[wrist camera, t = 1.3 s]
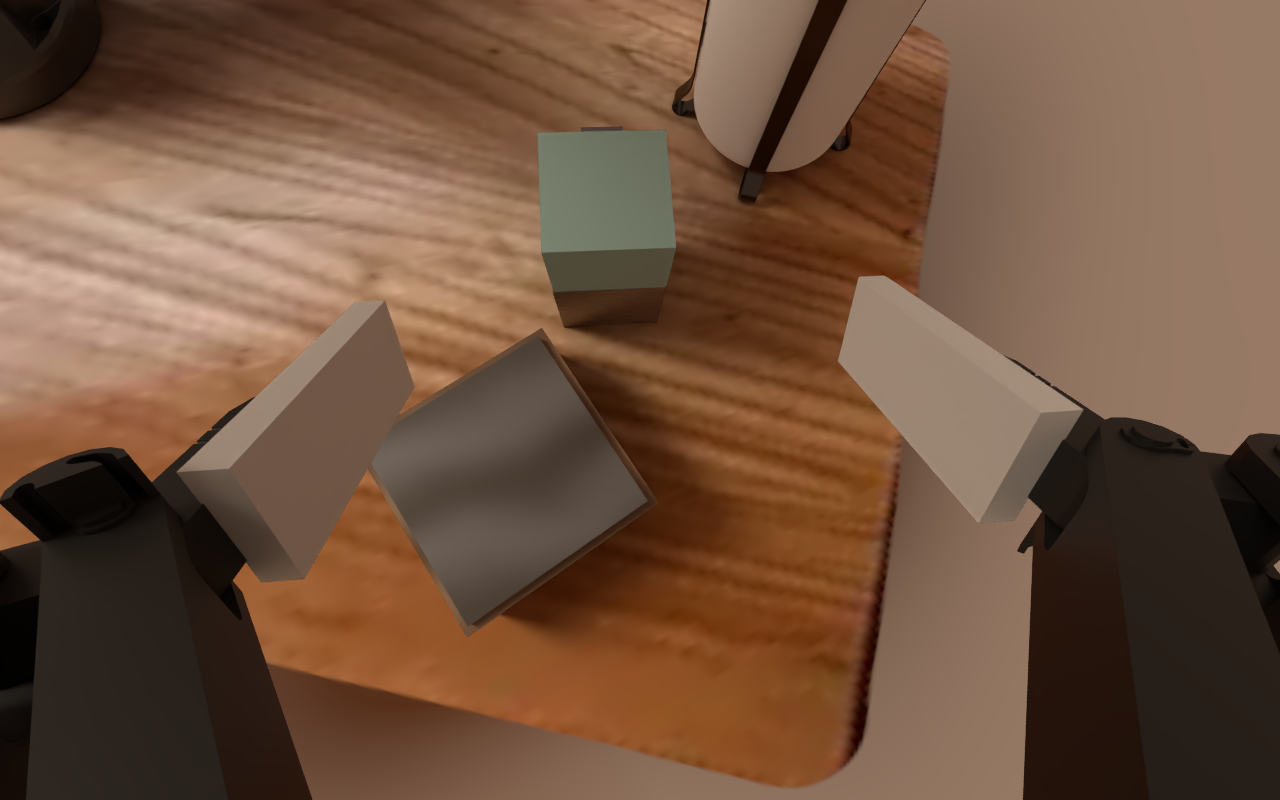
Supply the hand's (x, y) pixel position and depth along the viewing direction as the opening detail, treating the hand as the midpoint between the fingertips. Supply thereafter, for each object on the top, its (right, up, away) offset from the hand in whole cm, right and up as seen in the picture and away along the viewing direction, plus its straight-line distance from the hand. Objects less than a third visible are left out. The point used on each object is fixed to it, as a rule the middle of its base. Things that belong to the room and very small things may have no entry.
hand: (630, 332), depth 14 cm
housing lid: (-2, +8, +16) cm, 19 cm away
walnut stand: (-8, -7, +20) cm, 23 cm away
